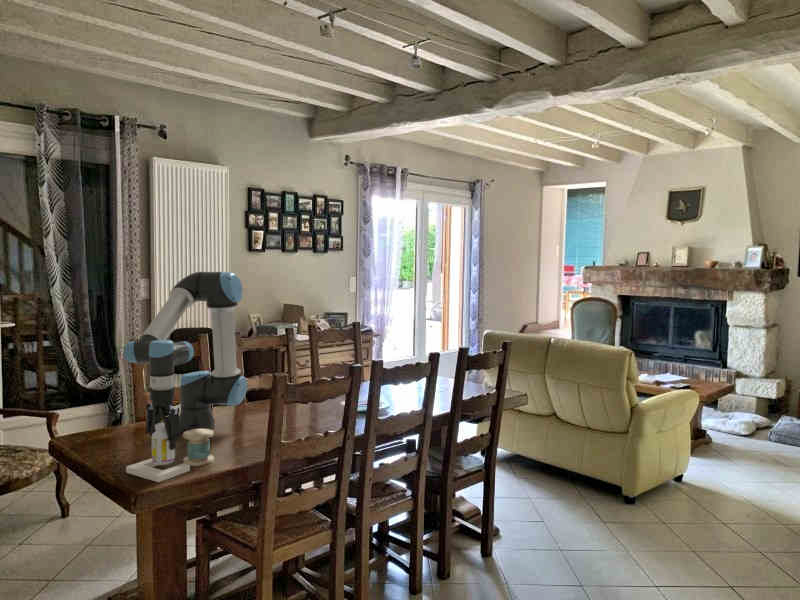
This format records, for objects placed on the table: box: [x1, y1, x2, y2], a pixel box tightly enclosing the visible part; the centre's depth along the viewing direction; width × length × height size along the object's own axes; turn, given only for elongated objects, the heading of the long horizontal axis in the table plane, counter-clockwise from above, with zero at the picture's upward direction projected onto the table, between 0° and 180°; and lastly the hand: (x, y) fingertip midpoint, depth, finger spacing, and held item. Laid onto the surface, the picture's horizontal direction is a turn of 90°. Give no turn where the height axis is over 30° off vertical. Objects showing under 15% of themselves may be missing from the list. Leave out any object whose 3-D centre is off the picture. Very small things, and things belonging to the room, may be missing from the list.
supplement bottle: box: [151, 421, 175, 466], centre depth 196 cm, size 7×7×13 cm
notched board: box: [125, 457, 191, 483], centre depth 194 cm, size 12×16×2 cm
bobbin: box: [182, 429, 215, 467], centre depth 205 cm, size 10×10×10 cm
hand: (163, 456), depth 196 cm, fingers closed on supplement bottle, 7 cm apart
